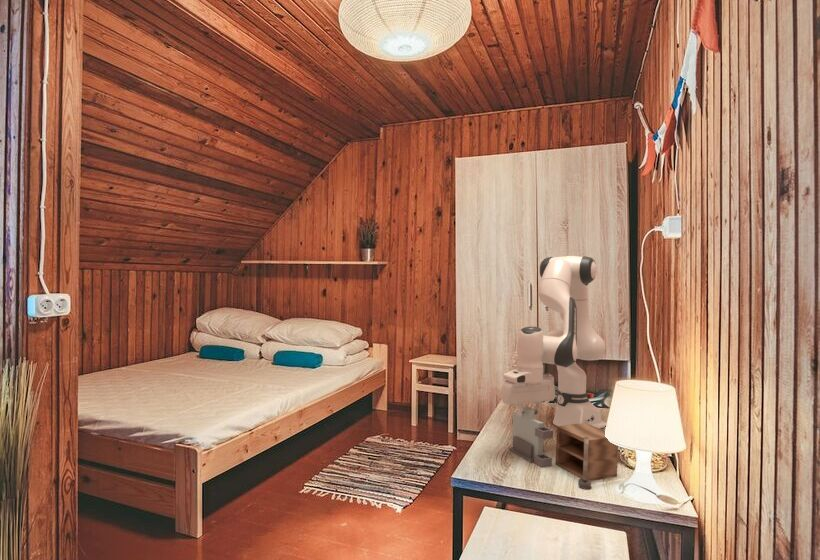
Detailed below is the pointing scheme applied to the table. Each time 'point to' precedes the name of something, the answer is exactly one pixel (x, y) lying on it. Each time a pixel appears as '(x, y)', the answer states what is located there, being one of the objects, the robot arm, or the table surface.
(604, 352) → the robot arm
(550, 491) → the table surface
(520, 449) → the door stand
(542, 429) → the door
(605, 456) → the cabinet
